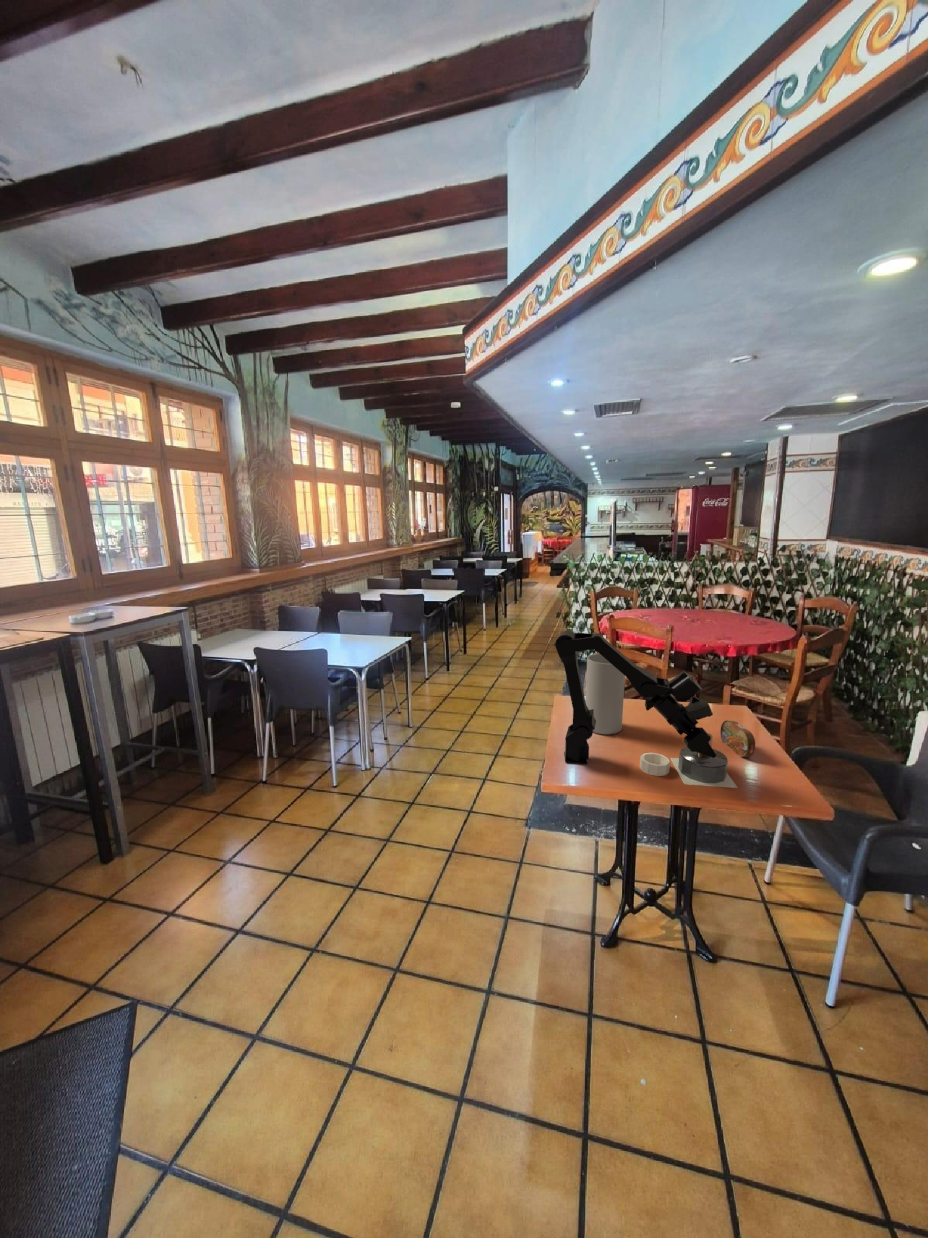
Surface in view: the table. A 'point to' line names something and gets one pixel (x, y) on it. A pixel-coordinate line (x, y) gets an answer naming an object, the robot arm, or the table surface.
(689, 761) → the cloche
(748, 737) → the tin
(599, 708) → the cylinder vase
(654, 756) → the bowl
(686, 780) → the mat
